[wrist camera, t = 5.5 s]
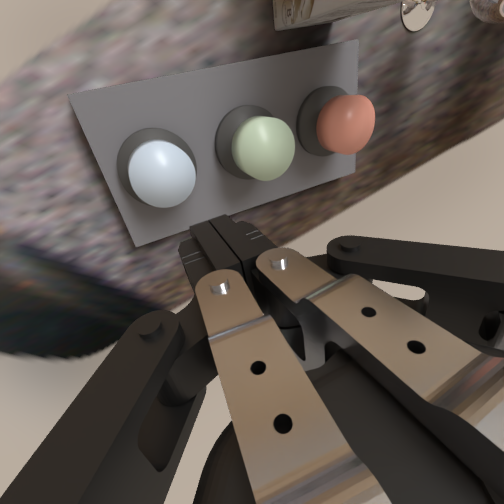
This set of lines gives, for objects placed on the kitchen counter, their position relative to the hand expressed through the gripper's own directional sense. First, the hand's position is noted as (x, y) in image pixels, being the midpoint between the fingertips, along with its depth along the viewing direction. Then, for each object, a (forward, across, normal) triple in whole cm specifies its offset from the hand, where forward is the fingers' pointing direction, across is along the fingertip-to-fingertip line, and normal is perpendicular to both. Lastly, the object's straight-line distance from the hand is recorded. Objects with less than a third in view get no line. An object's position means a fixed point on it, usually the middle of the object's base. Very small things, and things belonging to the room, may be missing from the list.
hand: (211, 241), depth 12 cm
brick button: (+12, -16, 0) cm, 20 cm away
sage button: (+12, -8, 0) cm, 15 cm away
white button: (+13, 0, 0) cm, 13 cm away
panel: (+17, -8, 0) cm, 18 cm away
